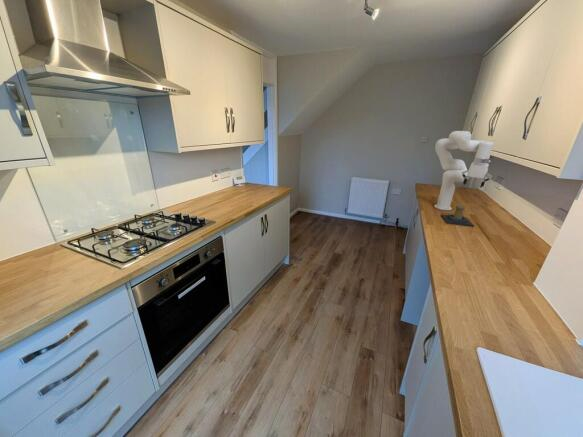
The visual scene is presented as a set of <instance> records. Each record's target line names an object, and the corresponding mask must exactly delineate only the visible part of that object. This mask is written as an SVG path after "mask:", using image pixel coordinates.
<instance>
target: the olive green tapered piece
mask: <svg viewBox="0 0 583 437" xmlns="http://www.w3.org/2000/svg"><path fill="white" fill-rule="evenodd" d="M465 208H466V207H465V205H463V204H457V205H456V206H455V211H454V213H453V214H452V215H453V218H456V219H462V216H464V211H465Z"/></svg>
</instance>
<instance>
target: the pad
mask: <svg viewBox="0 0 583 437" xmlns="http://www.w3.org/2000/svg"><path fill="white" fill-rule="evenodd" d="M453 215H454V214H453V213H451V214H450V213H448V214H441V215H440V216H441V218H442V219H443V220H444V222H445V223H446V224H449V225H456V226H465V227H471V228H472V227H474V224H473V223H472V221H470V220H469V219H468V218H467V217H465V216H464V215H462V219H456V218H453Z"/></svg>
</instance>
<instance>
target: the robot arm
mask: <svg viewBox="0 0 583 437" xmlns="http://www.w3.org/2000/svg"><path fill="white" fill-rule="evenodd" d="M494 145H495V143H494V142H492V141H487V140H482V139H480V140H479V139H475V140H474V139H472V133H471V132H470V131H468V130H453V131H452V132H450V133H449V135H448V138H445V137H444V138H440V139H438V140H437V141H436V142H435V146H434V147H435V149H434V150H435V153H436V155H437V158H438V159H439V163H440V165H441V168H442V170H443V171H444V172H443V174H442V182H441V187H440V190H439V194H438V198H437V202H436V204H434V205H433V207H434V208H435V209H437V210H441V211H452V209H453V208H452V206H451V205H452V201H453V197H454V194H455V191H456V186H455V183H463V185H467V184H468V183H467V182H468V180H469V178H474V179H479V180H481V183H480V185H479V188H480V189H482V188H483V187H484V186H485V184H486V182H488V181H490V180H491V179H492V178H493V175H491V174H490V173H489V172H488V171H489V165H490V163H491V162H492V160H490V157H491V154H492V151H493V149H494ZM457 149H459V150H461V151H462V152H463V151H464V152H468V153H469V152H471V153H472V152H473V153H475V157H474V159H473V161H472V162H471V164H470V165H469V168H467V166H466V163H465V161H464V160H463V159H460V158H453V156H452V154H451V153H450V152H451V151H449V150H457ZM486 177H487V178H486Z"/></svg>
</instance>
